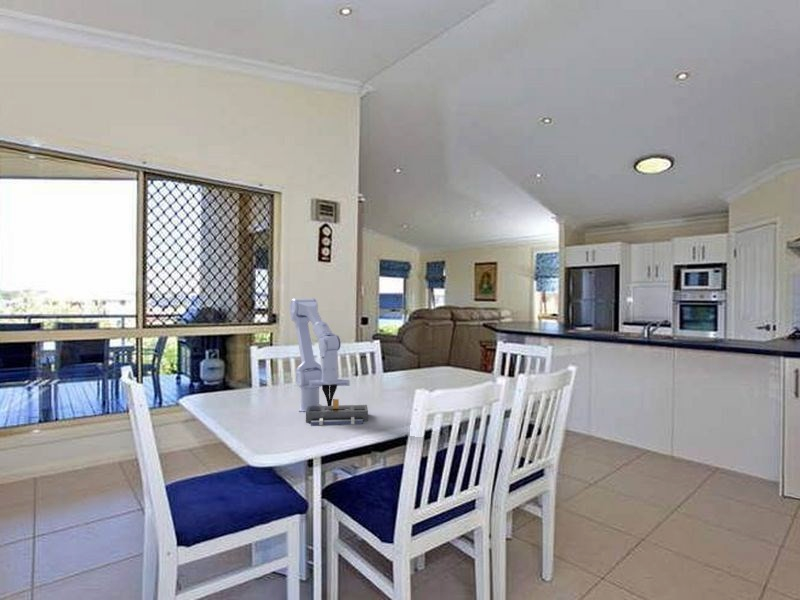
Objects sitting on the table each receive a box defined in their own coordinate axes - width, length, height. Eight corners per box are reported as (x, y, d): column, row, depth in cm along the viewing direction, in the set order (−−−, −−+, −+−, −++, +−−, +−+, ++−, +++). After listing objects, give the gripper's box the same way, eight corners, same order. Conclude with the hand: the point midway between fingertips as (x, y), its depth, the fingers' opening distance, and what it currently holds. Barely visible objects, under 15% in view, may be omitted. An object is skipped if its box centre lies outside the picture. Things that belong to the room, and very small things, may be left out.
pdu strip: (308, 415, 176) (308, 405, 176) (366, 414, 179) (367, 404, 179) (305, 422, 168) (305, 412, 167) (367, 420, 170) (368, 410, 170)
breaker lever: (333, 407, 174) (333, 399, 174) (338, 406, 174) (338, 398, 174) (332, 408, 172) (332, 400, 172) (338, 408, 172) (338, 400, 172)
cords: (311, 422, 168) (311, 417, 168) (362, 421, 170) (362, 416, 169) (310, 425, 164) (310, 420, 164) (362, 424, 166) (362, 419, 166)
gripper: (308, 370, 168) (308, 408, 168) (349, 370, 169) (349, 407, 170) (310, 367, 175) (310, 403, 175) (349, 366, 176) (349, 402, 177)
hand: (329, 405), depth 173 cm, fingers closed
